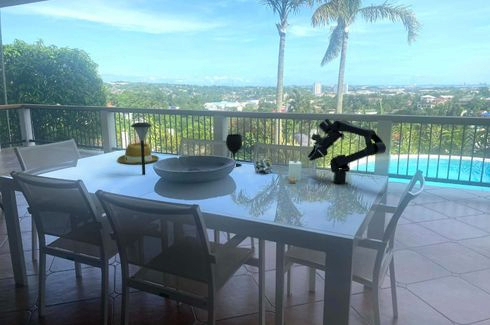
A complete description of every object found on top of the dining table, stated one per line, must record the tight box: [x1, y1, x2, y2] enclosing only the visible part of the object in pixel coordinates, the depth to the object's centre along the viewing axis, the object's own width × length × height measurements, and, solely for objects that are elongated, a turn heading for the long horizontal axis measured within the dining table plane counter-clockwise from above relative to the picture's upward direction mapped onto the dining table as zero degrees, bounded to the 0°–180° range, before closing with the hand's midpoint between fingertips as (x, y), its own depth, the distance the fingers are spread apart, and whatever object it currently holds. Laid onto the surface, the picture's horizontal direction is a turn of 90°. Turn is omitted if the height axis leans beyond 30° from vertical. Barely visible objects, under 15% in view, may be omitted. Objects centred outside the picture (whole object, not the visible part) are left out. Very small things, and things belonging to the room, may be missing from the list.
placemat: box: [275, 175, 310, 188], centre depth 202 cm, size 22×14×1 cm, turn 161°
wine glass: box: [225, 133, 243, 168], centre depth 239 cm, size 10×10×20 cm
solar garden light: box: [130, 121, 153, 176], centre depth 210 cm, size 12×12×30 cm
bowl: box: [289, 178, 296, 184], centre depth 197 cm, size 4×4×3 cm
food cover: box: [287, 160, 303, 181], centre depth 205 cm, size 7×7×10 cm
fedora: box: [117, 142, 160, 165], centre depth 252 cm, size 27×29×12 cm
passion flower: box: [255, 156, 273, 174], centre depth 221 cm, size 11×11×12 cm
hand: (309, 158), depth 203 cm, fingers open, 9 cm apart
